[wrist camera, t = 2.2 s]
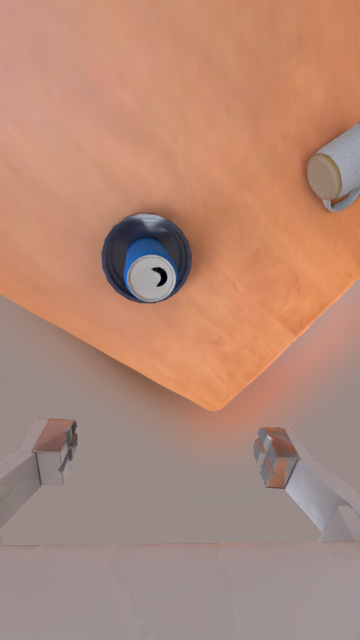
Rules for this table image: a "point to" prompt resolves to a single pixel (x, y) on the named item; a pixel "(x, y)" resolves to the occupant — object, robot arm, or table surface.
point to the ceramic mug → (337, 170)
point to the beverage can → (149, 270)
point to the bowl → (137, 229)
